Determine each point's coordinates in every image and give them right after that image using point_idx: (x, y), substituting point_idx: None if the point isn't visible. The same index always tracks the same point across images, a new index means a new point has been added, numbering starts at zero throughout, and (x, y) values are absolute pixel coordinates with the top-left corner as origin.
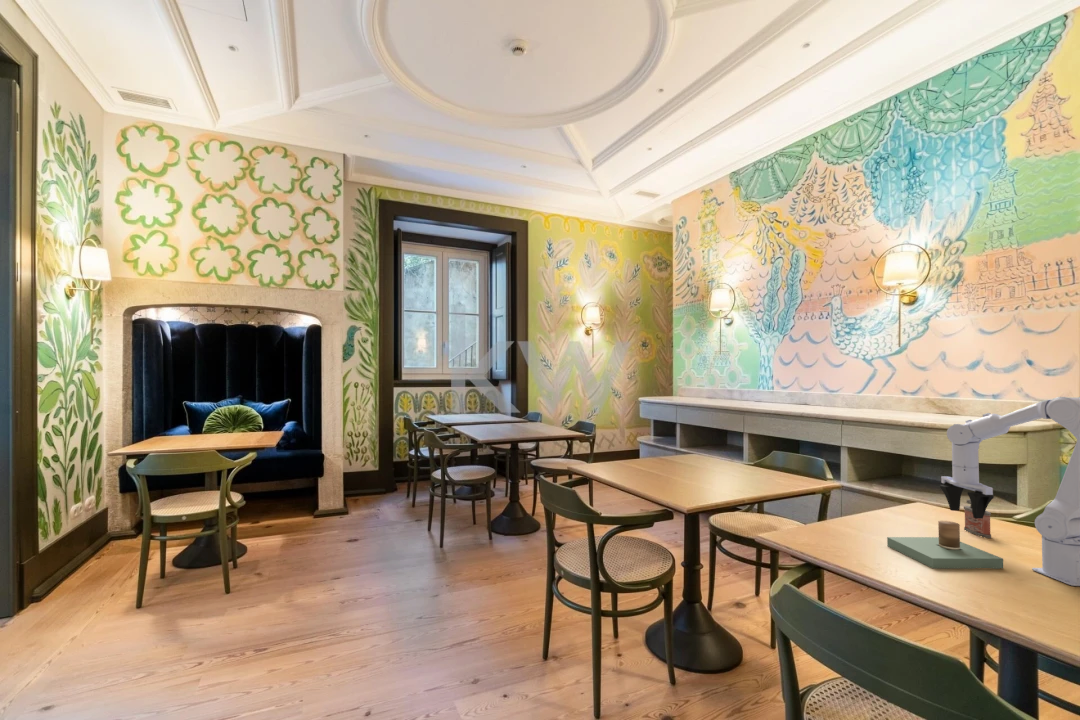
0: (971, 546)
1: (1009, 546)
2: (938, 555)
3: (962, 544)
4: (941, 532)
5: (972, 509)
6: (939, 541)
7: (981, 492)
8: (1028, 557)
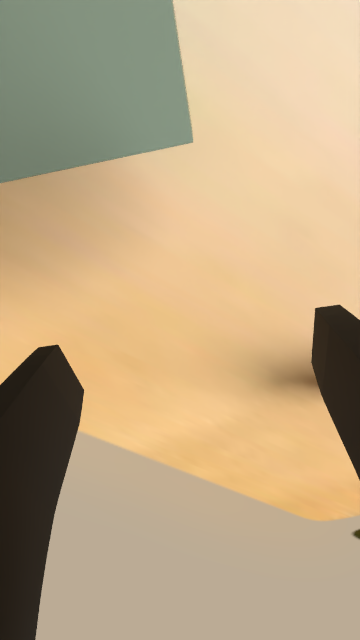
0: (6, 172)
1: (230, 387)
2: None
3: (28, 132)
4: None
5: (7, 402)
6: None
7: None
8: (110, 374)
